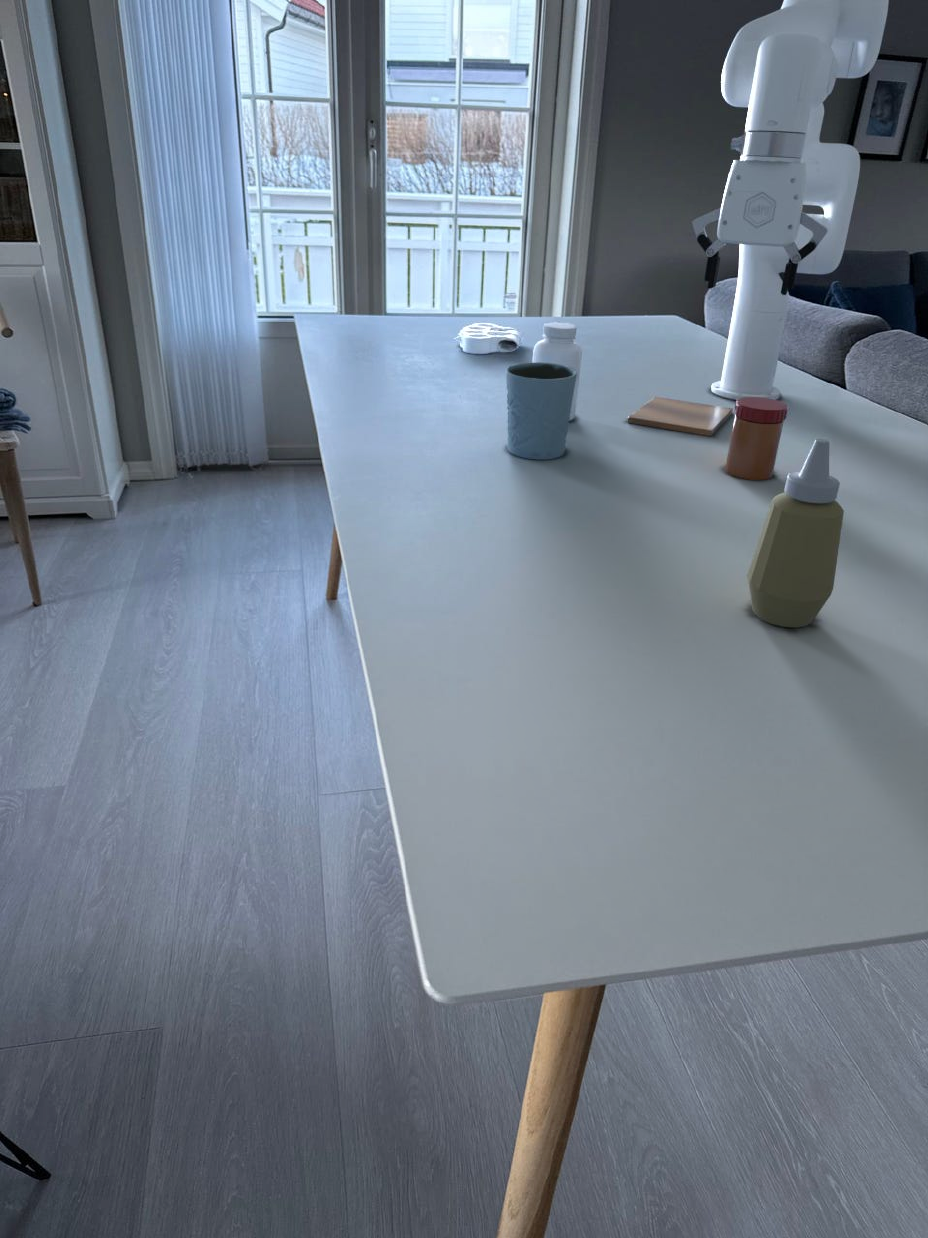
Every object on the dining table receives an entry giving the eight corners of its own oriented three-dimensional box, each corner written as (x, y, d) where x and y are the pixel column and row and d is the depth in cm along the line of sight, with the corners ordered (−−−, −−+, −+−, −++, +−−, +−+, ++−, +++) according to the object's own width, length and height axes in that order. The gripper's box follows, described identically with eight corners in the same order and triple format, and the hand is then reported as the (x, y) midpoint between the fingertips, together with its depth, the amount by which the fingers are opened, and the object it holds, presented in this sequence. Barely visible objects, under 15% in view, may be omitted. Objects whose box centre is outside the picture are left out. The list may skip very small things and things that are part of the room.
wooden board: (654, 402, 163) (655, 396, 163) (732, 413, 158) (733, 408, 157) (627, 422, 150) (628, 416, 150) (710, 436, 145) (711, 430, 145)
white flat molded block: (515, 356, 193) (448, 352, 194) (523, 340, 208) (461, 336, 210) (516, 340, 191) (449, 335, 193) (524, 325, 207) (461, 321, 208)
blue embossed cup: (575, 446, 138) (583, 366, 132) (560, 465, 129) (567, 381, 124) (512, 437, 140) (517, 359, 135) (493, 455, 132) (497, 373, 126)
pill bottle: (573, 425, 148) (582, 331, 141) (524, 420, 149) (531, 327, 142) (577, 412, 155) (586, 322, 148) (531, 408, 156) (538, 318, 149)
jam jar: (730, 462, 134) (742, 397, 129) (776, 470, 131) (789, 404, 127) (720, 474, 128) (732, 407, 124) (767, 482, 126) (781, 415, 121)
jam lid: (739, 406, 130) (741, 394, 129) (789, 414, 127) (791, 401, 126) (729, 417, 124) (731, 404, 124) (780, 425, 122) (783, 412, 121)
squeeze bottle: (729, 597, 93) (762, 426, 85) (804, 596, 94) (844, 427, 86) (758, 635, 86) (797, 453, 78) (838, 634, 87) (887, 454, 78)
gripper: (699, 145, 115) (679, 287, 122) (843, 151, 109) (812, 299, 117) (708, 147, 121) (687, 282, 129) (844, 153, 116) (814, 293, 123)
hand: (747, 290), depth 123 cm, fingers open, 9 cm apart
